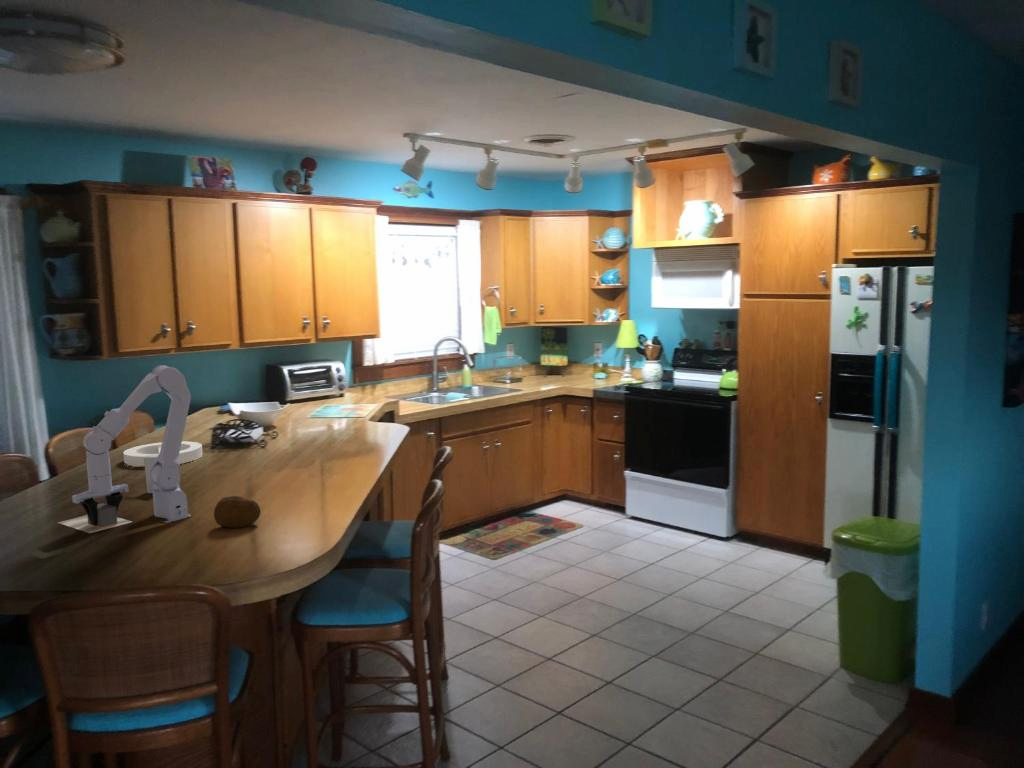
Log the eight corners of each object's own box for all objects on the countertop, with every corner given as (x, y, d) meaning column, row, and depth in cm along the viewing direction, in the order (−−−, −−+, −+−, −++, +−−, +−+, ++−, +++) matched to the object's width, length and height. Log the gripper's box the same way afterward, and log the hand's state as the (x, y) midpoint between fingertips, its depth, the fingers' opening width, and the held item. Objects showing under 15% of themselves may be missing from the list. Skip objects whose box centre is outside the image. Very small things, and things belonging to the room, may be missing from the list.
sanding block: (117, 524, 219) (116, 506, 218) (101, 528, 215) (99, 510, 214) (104, 520, 223) (102, 503, 222) (88, 524, 219) (86, 507, 218)
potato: (252, 531, 214) (250, 500, 213) (209, 532, 214) (206, 501, 213) (262, 522, 223) (260, 492, 222) (220, 522, 223) (218, 492, 221)
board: (133, 525, 221) (132, 521, 221) (90, 537, 211) (89, 533, 211) (99, 516, 231) (99, 511, 231) (57, 526, 222) (56, 522, 221)
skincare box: (170, 489, 260) (167, 453, 259) (165, 493, 256) (163, 456, 254) (151, 490, 260) (148, 454, 258) (146, 494, 255) (143, 457, 254)
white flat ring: (165, 471, 289) (164, 458, 288) (107, 466, 298) (106, 454, 298) (218, 455, 315) (217, 443, 314) (163, 451, 324) (162, 439, 324)
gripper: (117, 467, 225) (121, 513, 227) (65, 478, 213) (69, 526, 215) (130, 470, 221) (134, 517, 222) (78, 481, 209) (82, 531, 211)
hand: (103, 522), depth 218 cm, fingers closed on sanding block, 4 cm apart
